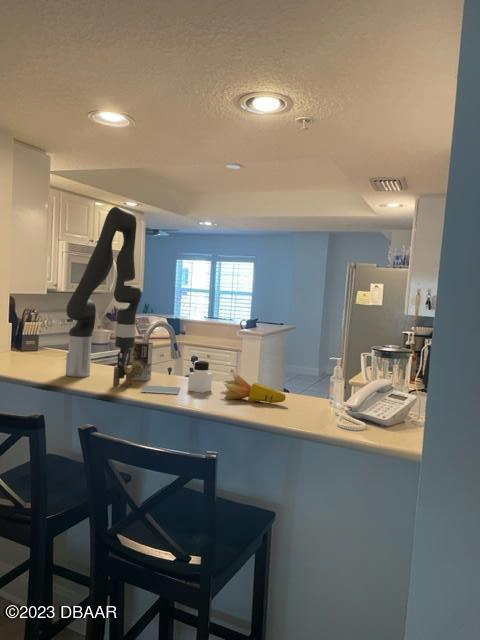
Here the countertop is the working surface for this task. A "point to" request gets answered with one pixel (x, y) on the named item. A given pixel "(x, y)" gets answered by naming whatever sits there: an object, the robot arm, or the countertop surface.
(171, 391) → the mat
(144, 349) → the coffee box
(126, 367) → the stool
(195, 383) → the medicine bottle
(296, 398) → the countertop surface
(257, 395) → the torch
